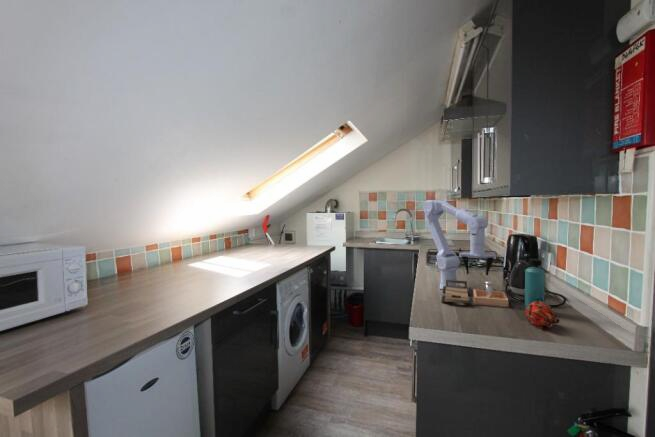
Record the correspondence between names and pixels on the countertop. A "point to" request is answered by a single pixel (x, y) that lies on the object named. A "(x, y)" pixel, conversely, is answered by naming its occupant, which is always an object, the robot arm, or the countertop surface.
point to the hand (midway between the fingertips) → (477, 274)
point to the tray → (497, 298)
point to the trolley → (456, 293)
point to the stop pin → (489, 289)
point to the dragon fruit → (541, 315)
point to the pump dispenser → (518, 277)
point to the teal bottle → (534, 283)
